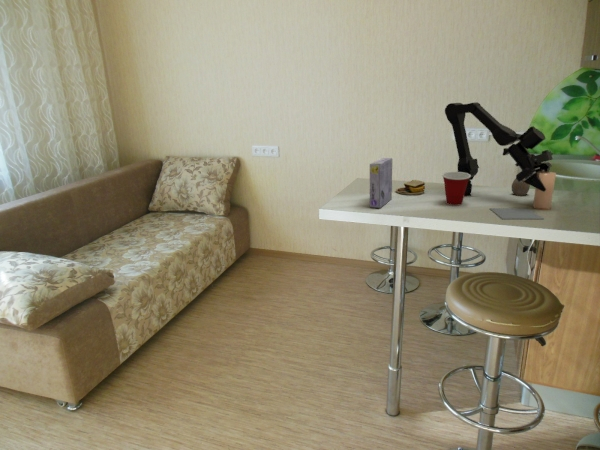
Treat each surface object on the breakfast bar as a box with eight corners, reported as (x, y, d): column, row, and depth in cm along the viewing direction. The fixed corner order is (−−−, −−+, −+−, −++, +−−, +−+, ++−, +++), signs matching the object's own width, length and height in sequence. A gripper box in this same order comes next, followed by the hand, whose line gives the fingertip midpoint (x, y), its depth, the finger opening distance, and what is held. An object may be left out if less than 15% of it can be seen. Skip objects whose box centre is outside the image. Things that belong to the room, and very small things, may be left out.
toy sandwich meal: (390, 191, 202) (390, 181, 201) (414, 188, 207) (414, 178, 206) (407, 197, 191) (407, 186, 190) (432, 193, 196) (432, 183, 195)
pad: (502, 219, 155) (502, 218, 155) (489, 209, 169) (489, 208, 168) (543, 219, 154) (544, 218, 154) (527, 209, 167) (527, 208, 167)
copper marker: (537, 209, 166) (537, 209, 166) (531, 206, 172) (531, 205, 172) (552, 209, 166) (552, 209, 166) (546, 206, 171) (546, 205, 171)
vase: (510, 195, 188) (512, 175, 186) (511, 192, 194) (513, 172, 192) (528, 197, 185) (530, 176, 183) (528, 193, 191) (531, 173, 188)
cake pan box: (381, 197, 191) (383, 156, 186) (393, 198, 189) (394, 157, 184) (368, 208, 175) (369, 163, 169) (380, 209, 172) (381, 164, 167)
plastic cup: (439, 205, 175) (441, 176, 172) (440, 199, 185) (442, 171, 181) (468, 207, 171) (471, 177, 168) (468, 201, 181) (471, 172, 178)
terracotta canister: (537, 208, 166) (541, 174, 162) (530, 204, 172) (535, 171, 168) (553, 208, 166) (559, 174, 162) (546, 204, 171) (551, 171, 167)
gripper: (528, 145, 159) (557, 180, 154) (549, 141, 170) (576, 173, 166) (504, 165, 167) (530, 198, 162) (526, 159, 178) (551, 190, 174)
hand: (548, 189), depth 166 cm, fingers closed on terracotta canister, 6 cm apart
